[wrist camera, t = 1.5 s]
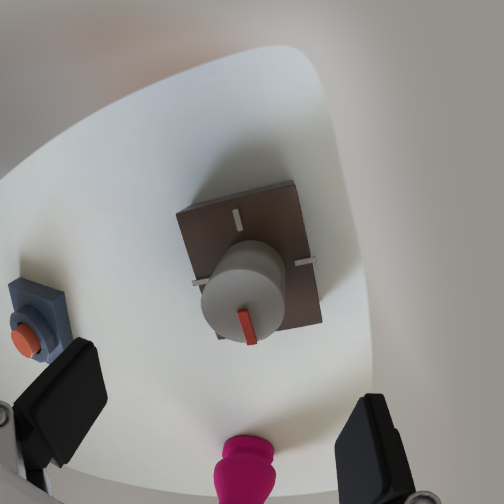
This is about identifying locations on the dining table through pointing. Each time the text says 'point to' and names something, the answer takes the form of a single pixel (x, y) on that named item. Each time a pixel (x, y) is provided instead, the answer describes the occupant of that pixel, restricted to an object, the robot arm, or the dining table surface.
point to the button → (25, 340)
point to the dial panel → (259, 229)
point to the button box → (41, 317)
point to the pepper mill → (245, 471)
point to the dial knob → (246, 293)
